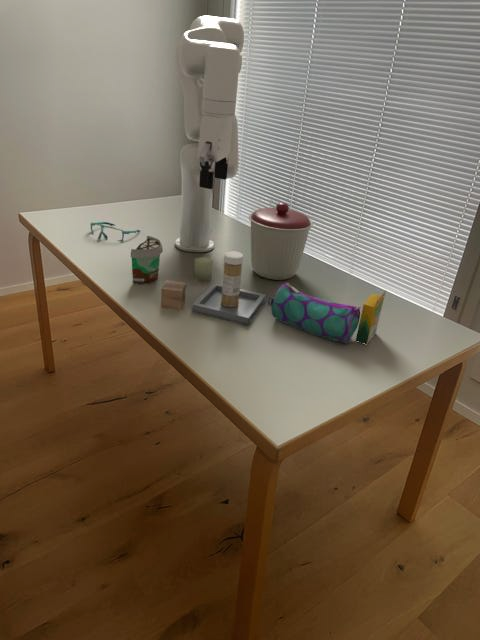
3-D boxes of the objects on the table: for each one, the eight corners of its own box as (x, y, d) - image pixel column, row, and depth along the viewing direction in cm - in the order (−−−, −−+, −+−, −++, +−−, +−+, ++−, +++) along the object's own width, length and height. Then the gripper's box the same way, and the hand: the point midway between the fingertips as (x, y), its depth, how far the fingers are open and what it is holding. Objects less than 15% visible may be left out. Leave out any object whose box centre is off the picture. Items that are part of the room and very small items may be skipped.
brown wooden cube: (165, 298, 127) (165, 280, 124) (184, 300, 127) (185, 282, 124) (161, 307, 122) (161, 288, 120) (181, 309, 122) (182, 291, 120)
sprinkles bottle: (233, 299, 128) (238, 249, 122) (241, 307, 125) (246, 256, 118) (217, 301, 126) (221, 251, 120) (225, 309, 123) (229, 258, 117)
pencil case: (264, 322, 120) (269, 286, 116) (281, 309, 127) (286, 275, 123) (344, 352, 112) (353, 314, 107) (358, 337, 118) (367, 300, 114)
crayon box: (364, 329, 122) (374, 286, 116) (376, 333, 121) (387, 289, 115) (354, 341, 116) (364, 296, 111) (366, 345, 115) (378, 300, 109)
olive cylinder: (198, 272, 143) (199, 255, 141) (214, 275, 142) (215, 259, 140) (191, 278, 139) (191, 261, 137) (207, 282, 138) (208, 265, 135)
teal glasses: (82, 235, 161) (82, 220, 159) (110, 228, 174) (111, 214, 172) (119, 245, 157) (120, 229, 155) (145, 237, 170) (146, 222, 168)
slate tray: (213, 289, 134) (214, 282, 133) (265, 301, 130) (265, 294, 129) (191, 311, 122) (192, 304, 121) (247, 325, 118) (248, 318, 117)
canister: (315, 275, 149) (327, 205, 139) (280, 291, 137) (291, 216, 127) (267, 257, 159) (275, 191, 149) (230, 271, 146) (237, 199, 136)
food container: (153, 289, 130) (153, 253, 126) (130, 285, 131) (130, 249, 127) (168, 272, 141) (169, 238, 136) (147, 268, 142) (147, 235, 137)
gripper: (216, 101, 121) (211, 172, 129) (188, 109, 106) (184, 188, 115) (246, 106, 119) (239, 177, 128) (221, 114, 105) (215, 194, 113)
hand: (213, 183), depth 121 cm, fingers open, 9 cm apart
